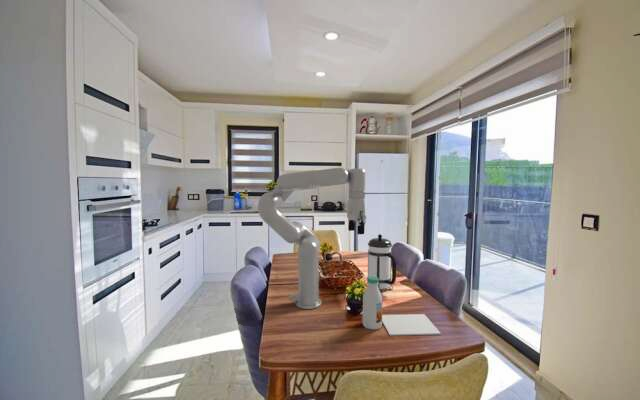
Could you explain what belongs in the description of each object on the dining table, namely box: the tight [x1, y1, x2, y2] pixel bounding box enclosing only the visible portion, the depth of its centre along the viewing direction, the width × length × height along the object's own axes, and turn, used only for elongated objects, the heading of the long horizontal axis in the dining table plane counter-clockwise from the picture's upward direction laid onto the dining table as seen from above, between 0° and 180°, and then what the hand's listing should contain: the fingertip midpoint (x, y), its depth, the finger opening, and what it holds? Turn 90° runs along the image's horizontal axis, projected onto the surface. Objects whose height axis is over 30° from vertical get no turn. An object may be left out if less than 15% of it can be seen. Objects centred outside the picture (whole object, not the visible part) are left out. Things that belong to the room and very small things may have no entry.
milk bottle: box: [362, 276, 383, 331], centre depth 119 cm, size 8×8×20 cm
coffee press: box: [367, 234, 397, 291], centre depth 159 cm, size 17×16×30 cm
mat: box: [382, 313, 442, 337], centre depth 120 cm, size 20×16×1 cm
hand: (356, 232), depth 135 cm, fingers open, 9 cm apart
